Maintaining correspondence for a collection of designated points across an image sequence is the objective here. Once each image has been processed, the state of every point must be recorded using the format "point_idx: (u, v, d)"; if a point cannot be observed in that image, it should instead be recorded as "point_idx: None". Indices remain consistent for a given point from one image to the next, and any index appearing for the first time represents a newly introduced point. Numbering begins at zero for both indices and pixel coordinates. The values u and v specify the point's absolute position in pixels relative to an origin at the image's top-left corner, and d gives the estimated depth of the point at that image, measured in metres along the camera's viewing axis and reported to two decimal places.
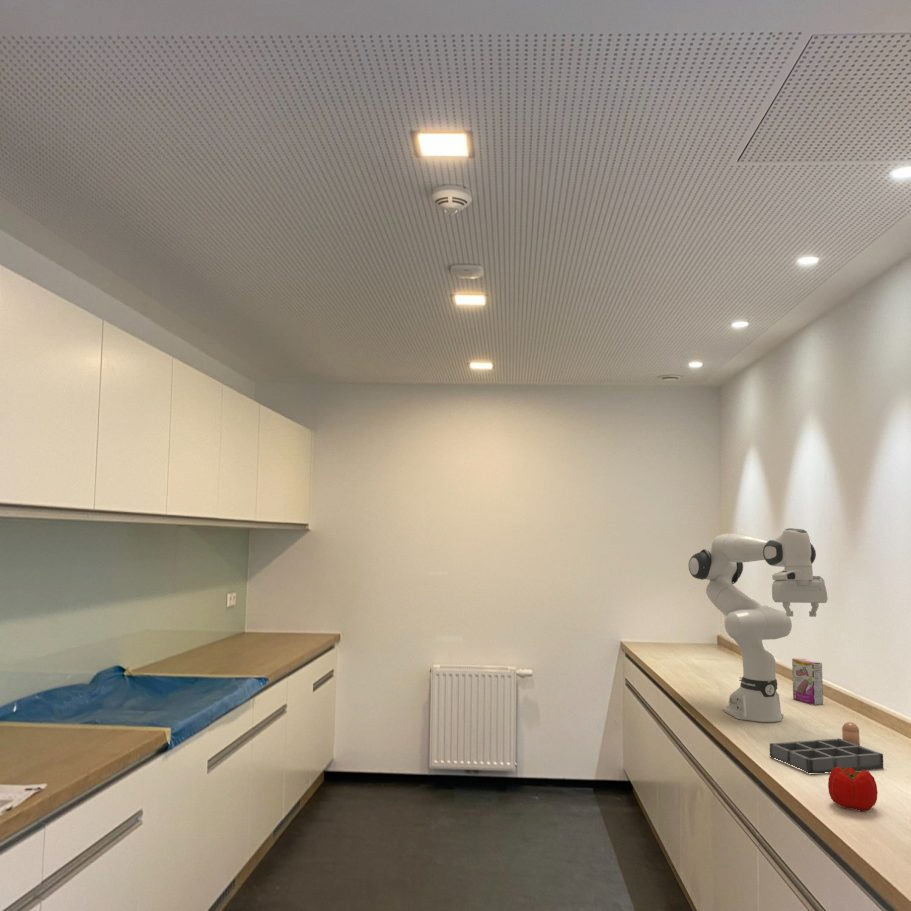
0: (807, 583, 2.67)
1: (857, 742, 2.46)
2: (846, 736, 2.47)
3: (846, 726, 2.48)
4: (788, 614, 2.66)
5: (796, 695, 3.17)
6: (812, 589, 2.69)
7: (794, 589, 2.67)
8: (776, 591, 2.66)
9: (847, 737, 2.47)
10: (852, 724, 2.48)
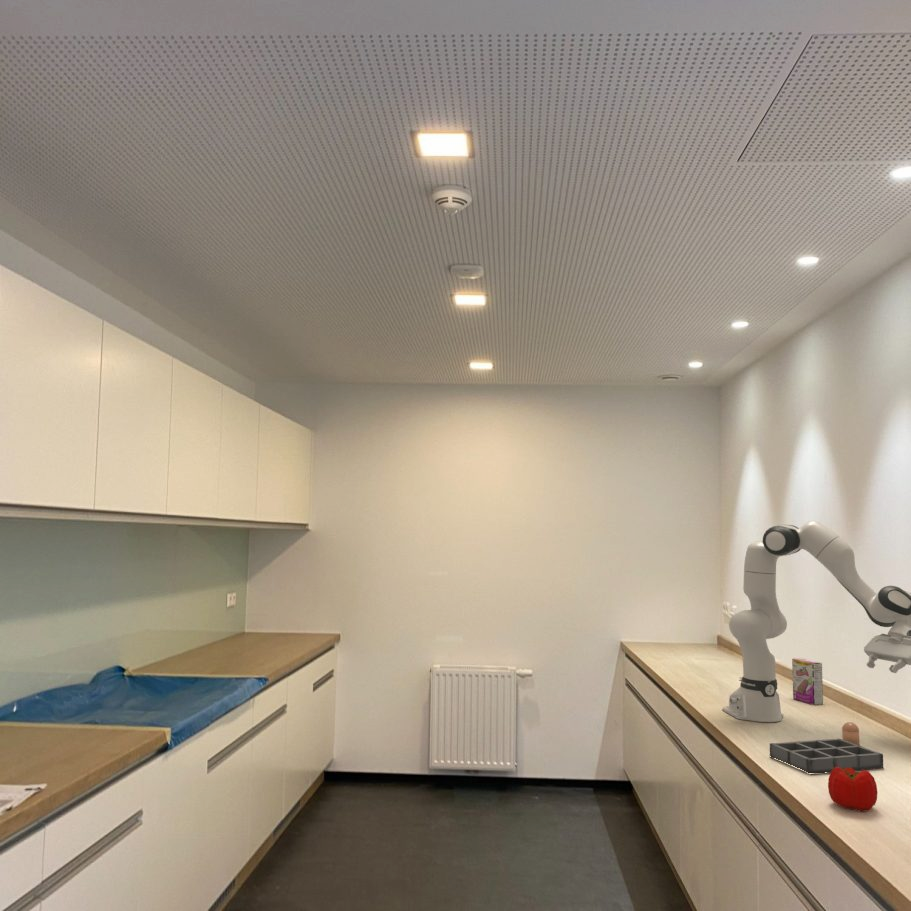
0: None
1: (857, 742, 2.46)
2: (846, 736, 2.47)
3: (846, 726, 2.48)
4: (895, 670, 2.48)
5: (796, 695, 3.17)
6: None
7: None
8: None
9: (847, 737, 2.47)
10: (852, 724, 2.48)
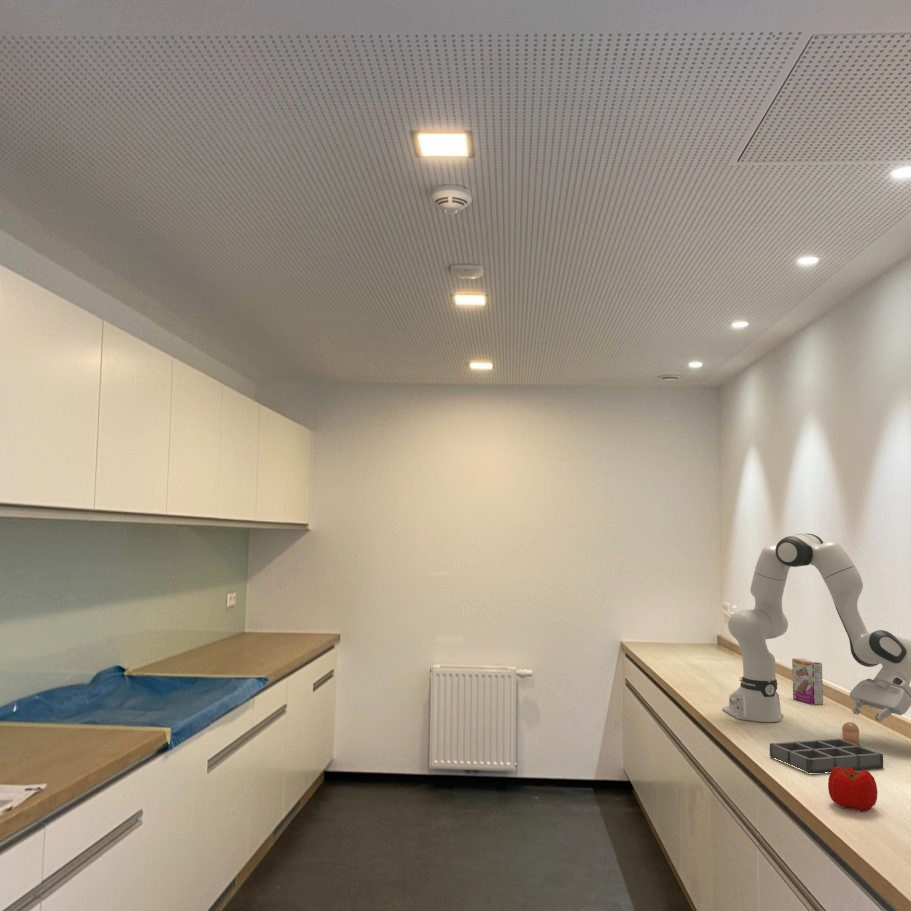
0: None
1: (857, 742, 2.46)
2: (846, 736, 2.47)
3: (846, 726, 2.48)
4: (881, 719, 2.45)
5: (796, 695, 3.17)
6: None
7: None
8: (906, 704, 2.43)
9: (847, 737, 2.47)
10: (852, 724, 2.48)
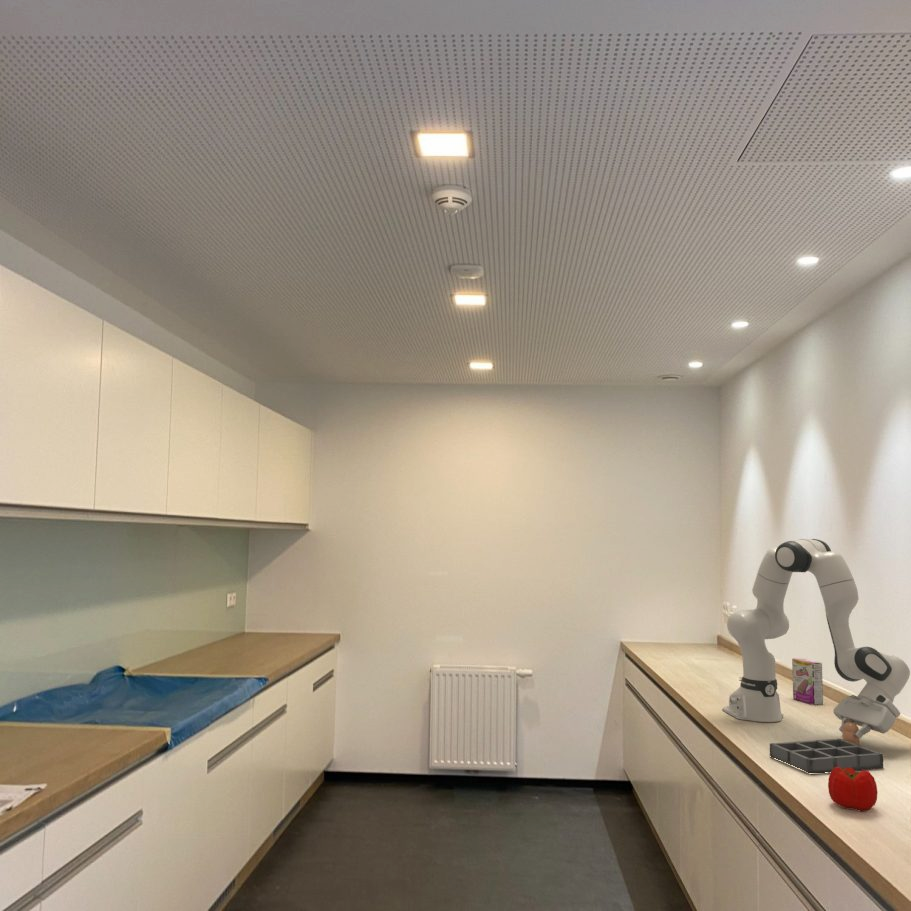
0: None
1: (857, 742, 2.46)
2: (846, 736, 2.47)
3: (846, 726, 2.48)
4: (859, 736, 2.45)
5: (796, 695, 3.17)
6: None
7: None
8: (889, 722, 2.41)
9: (847, 737, 2.47)
10: (852, 724, 2.48)
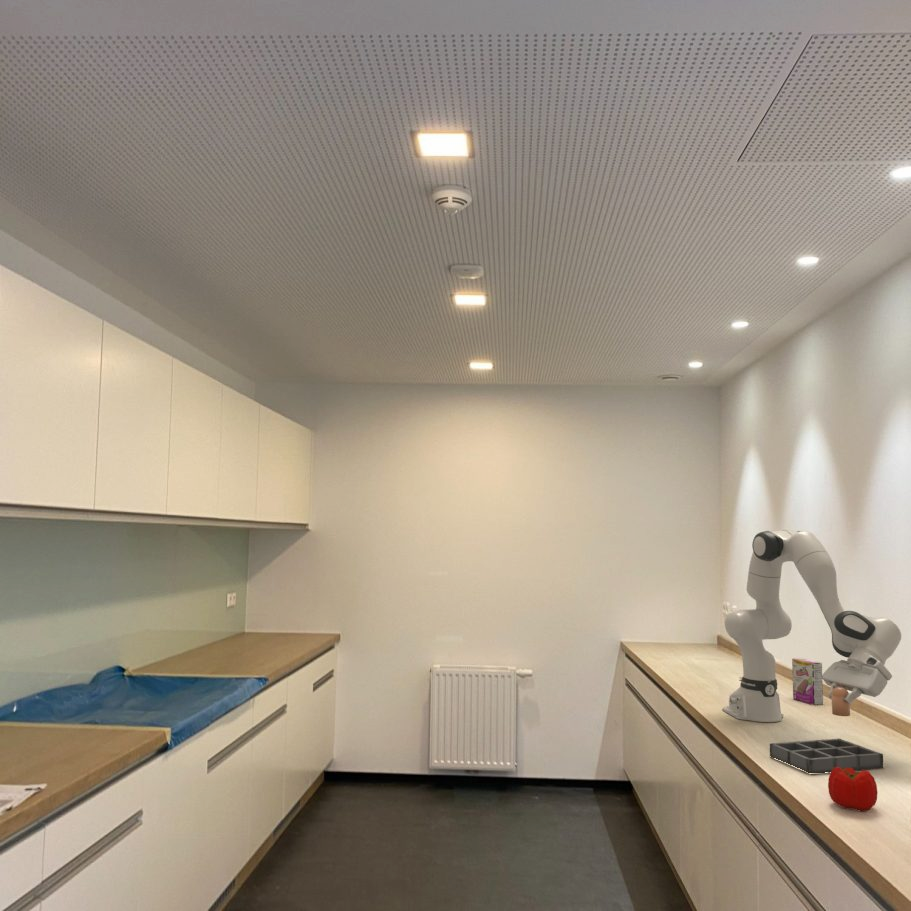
0: None
1: (847, 707, 2.33)
2: (836, 701, 2.34)
3: (835, 691, 2.35)
4: (849, 700, 2.32)
5: (796, 695, 3.17)
6: None
7: None
8: (881, 685, 2.28)
9: (837, 702, 2.34)
10: (842, 688, 2.35)
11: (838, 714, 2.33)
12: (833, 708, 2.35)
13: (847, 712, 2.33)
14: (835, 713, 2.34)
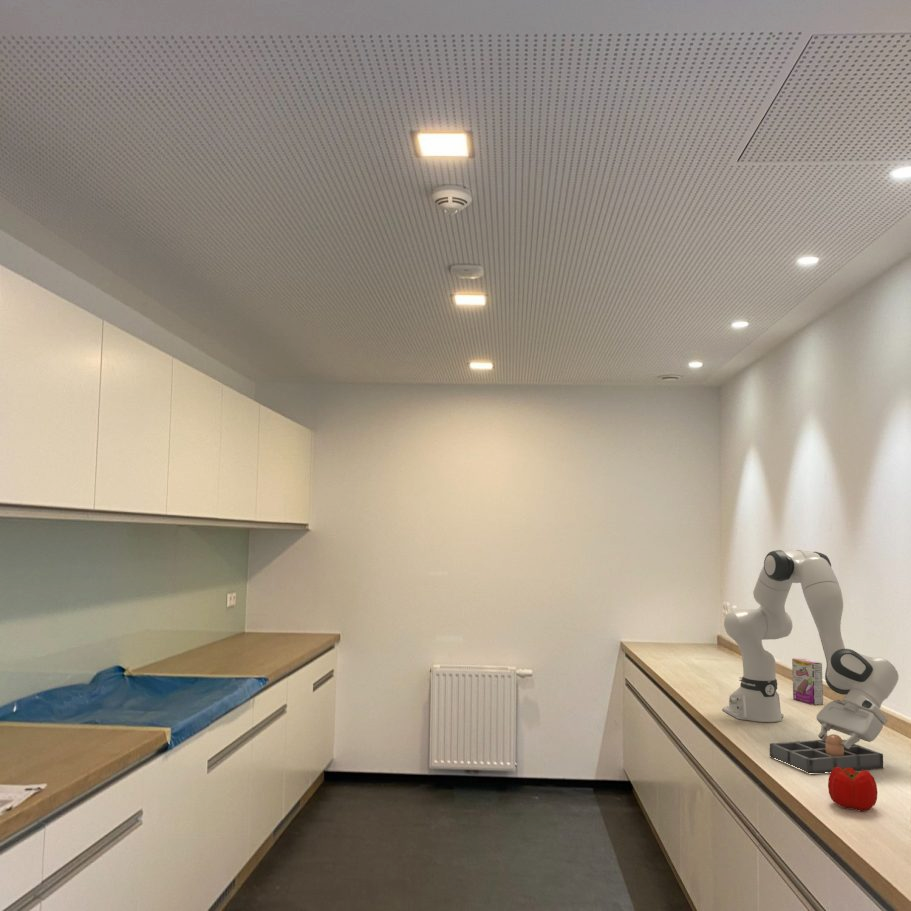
0: None
1: None
2: (829, 750, 2.28)
3: (829, 739, 2.29)
4: (848, 746, 2.24)
5: (796, 695, 3.17)
6: None
7: None
8: (876, 730, 2.22)
9: (830, 751, 2.28)
10: (836, 736, 2.28)
11: None
12: None
13: None
14: None
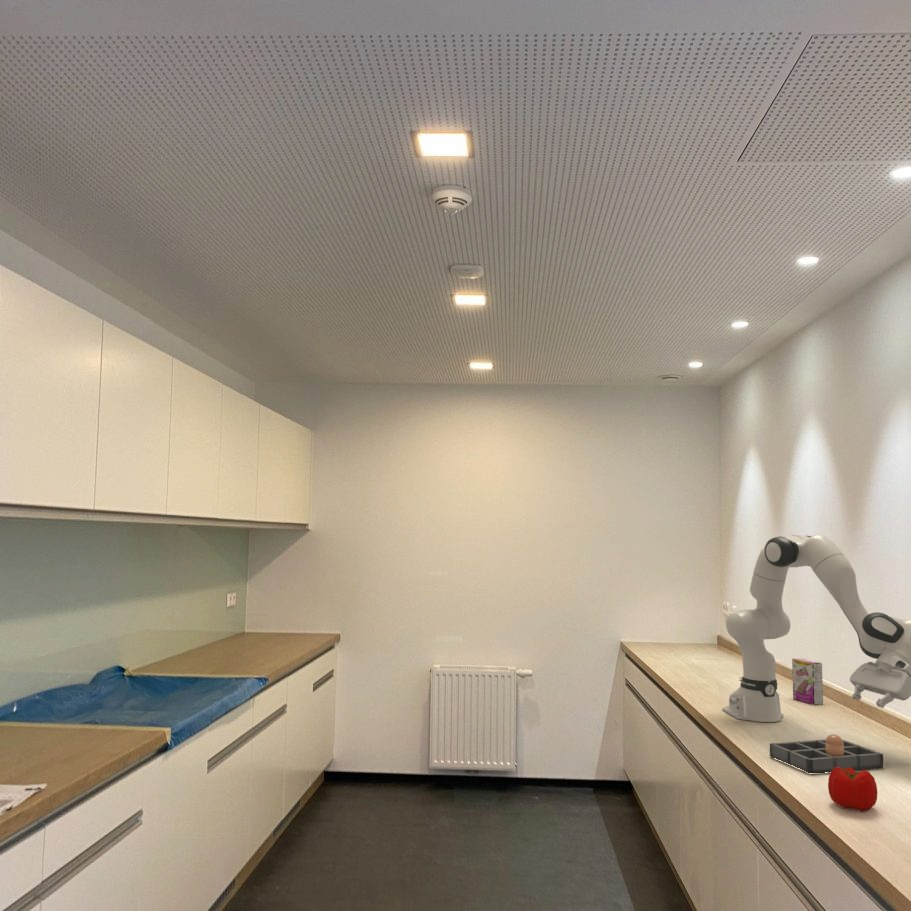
0: None
1: None
2: (829, 750, 2.28)
3: (829, 739, 2.29)
4: (882, 705, 2.29)
5: (796, 695, 3.17)
6: None
7: None
8: (910, 689, 2.27)
9: (830, 751, 2.28)
10: (836, 736, 2.28)
11: None
12: None
13: None
14: None
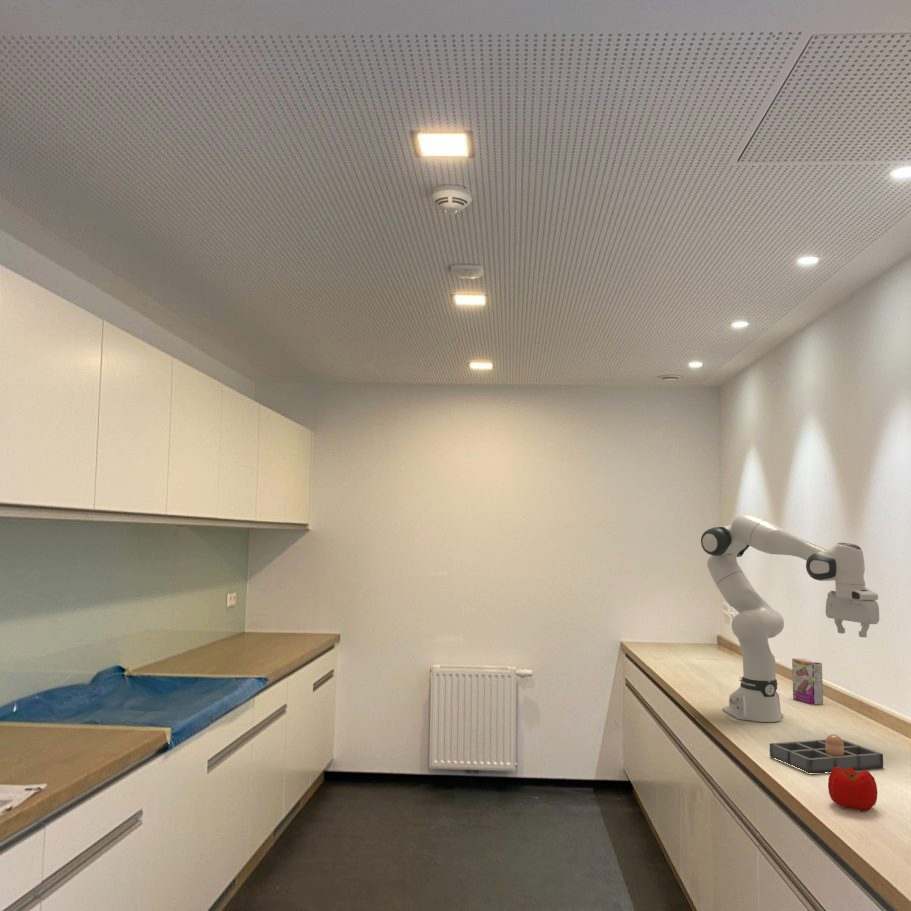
0: None
1: None
2: (829, 750, 2.28)
3: (829, 739, 2.29)
4: (865, 635, 2.54)
5: (796, 695, 3.17)
6: None
7: None
8: (875, 612, 2.50)
9: (830, 751, 2.28)
10: (836, 736, 2.28)
11: None
12: None
13: None
14: None
